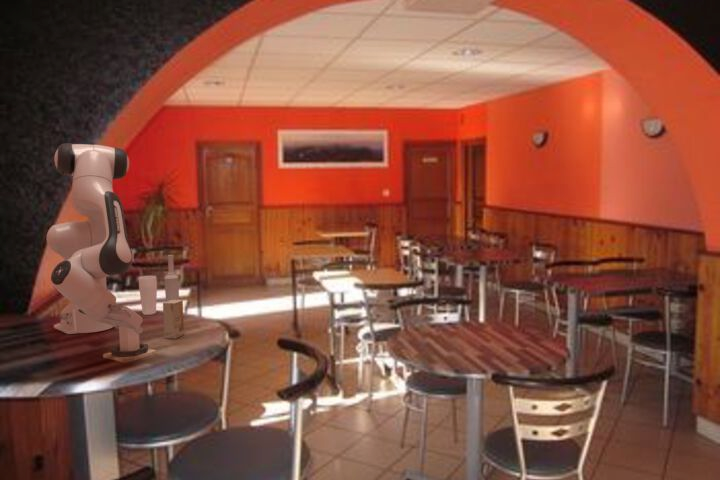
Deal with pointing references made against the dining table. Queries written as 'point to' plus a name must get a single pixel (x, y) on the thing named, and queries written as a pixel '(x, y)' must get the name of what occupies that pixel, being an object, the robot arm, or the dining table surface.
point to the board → (128, 359)
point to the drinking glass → (148, 294)
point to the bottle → (171, 282)
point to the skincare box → (173, 319)
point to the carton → (128, 339)
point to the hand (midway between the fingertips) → (130, 329)
